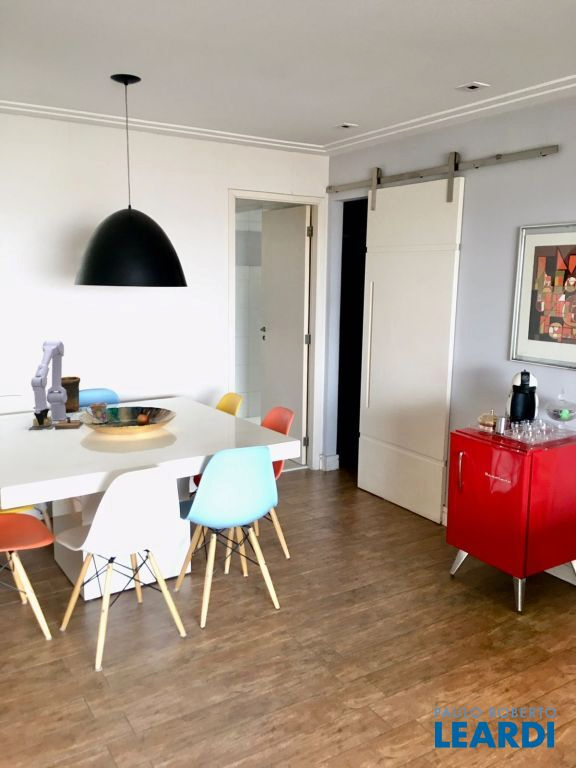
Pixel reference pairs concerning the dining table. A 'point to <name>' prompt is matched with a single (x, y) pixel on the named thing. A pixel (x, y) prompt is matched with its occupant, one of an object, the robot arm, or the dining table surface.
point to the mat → (43, 427)
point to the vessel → (71, 393)
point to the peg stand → (68, 424)
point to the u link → (46, 421)
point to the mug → (98, 411)
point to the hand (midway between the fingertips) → (42, 423)
